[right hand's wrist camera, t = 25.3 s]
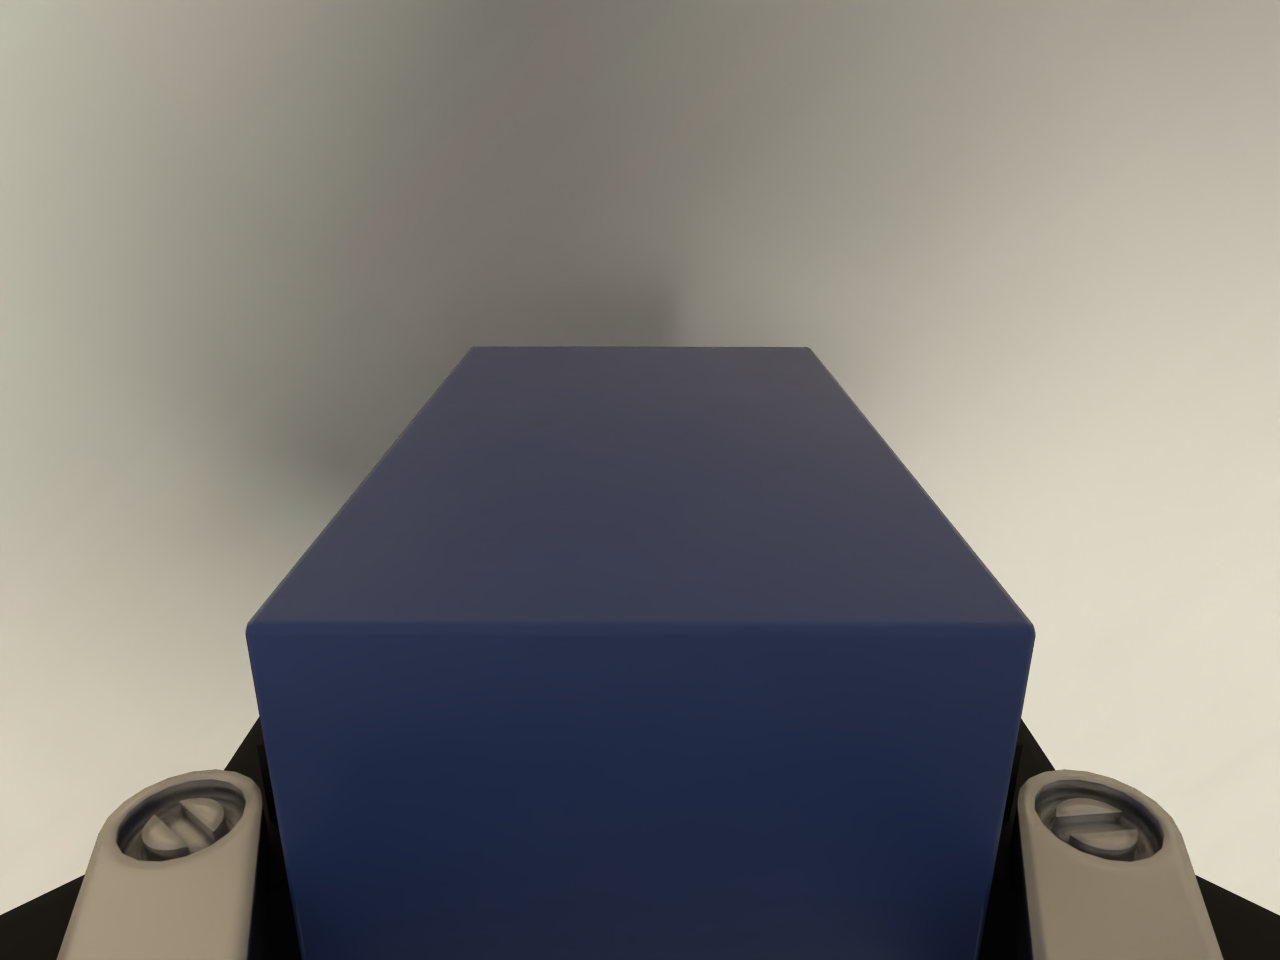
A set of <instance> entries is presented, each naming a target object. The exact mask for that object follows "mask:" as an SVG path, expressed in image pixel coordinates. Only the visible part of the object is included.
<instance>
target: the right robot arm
mask: <svg viewBox="0 0 1280 960" xmlns="http://www.w3.org/2000/svg"><path fill="white" fill-rule="evenodd" d="M0 960H301V954H300V948H299V942H298V936H297V931H296V925H295V919H294V913H293V907H292V901H291V896H290V890H289V884H288V878H287V872H286V867H285V861H284V855H283V849H282V843H281V837H280V832H279V826H278V820H277V814H276V808H275V803H274V797H273V791H272V785H271V779H270V774H269V768H268V762H267V756H266V750H265V744H264V739H263V733H262V727H261V721H260V716H259V718H258V719H257V721H256V723H255V724H254V726H253V727H252V729H251V730H250V732H249V733H248V735H247V736H246V738H245V739H244V741H243V742H242V744H241V745H240V747H239V748H238V750H237V751H236V753H235V754H234V756H233V757H232V759H231V760H230V762H229V763H228V765H227V767H226V768H225V770H205V771H194V772H189V773H186V774H182V775H178V776H174V777H171V778H167V779H165V780H163V781H161V782H158V783H156V784H154V785H152V786H149V787H147V788H145V789H143V790H142V791H140V792H139V793H137V794H136V795H134V796H132V797H131V798H129V799H128V800H126V801H125V802H123V803H122V804H121V805H120V806H119V807H118V808H117V809H116V810H115V811H114V812H113V813H112V814H111V815H110V816H109V817H108V818H107V820H106V822H105V824H104V826H103V827H102V829H101V831H100V833H99V834H98V837H97V840H96V843H95V846H94V849H93V852H92V855H91V858H90V861H89V864H88V867H87V870H86V873H85V875H83V876H81V877H79V878H77V879H75V880H73V881H71V882H68V883H66V884H64V885H62V886H60V887H58V888H56V889H54V890H52V891H50V892H48V893H46V894H44V895H42V896H39V897H37V898H35V899H33V900H31V901H29V902H27V903H25V904H23V905H21V906H19V907H17V908H15V909H12V910H10V911H8V912H6V913H4V914H2V915H0ZM978 960H1280V915H1277V914H1275V913H1273V912H1271V911H1269V910H1267V909H1265V908H1263V907H1261V906H1259V905H1257V904H1255V903H1253V902H1250V901H1248V900H1246V899H1244V898H1242V897H1240V896H1238V895H1236V894H1234V893H1232V892H1230V891H1228V890H1226V889H1223V888H1221V887H1219V886H1217V885H1215V884H1213V883H1211V882H1209V881H1207V880H1205V879H1203V878H1201V877H1199V876H1196V875H1195V873H1194V870H1193V867H1192V864H1191V861H1190V858H1189V855H1188V852H1187V849H1186V846H1185V843H1184V840H1183V837H1182V834H1181V833H1180V831H1179V829H1178V827H1177V826H1176V824H1175V822H1174V820H1173V818H1172V817H1171V816H1170V815H1169V814H1168V813H1167V812H1166V811H1165V810H1164V809H1163V808H1162V807H1161V806H1160V805H1159V804H1158V803H1157V802H1155V801H1154V800H1152V799H1151V798H1149V797H1148V796H1146V795H1144V794H1143V793H1141V792H1140V791H1138V790H1137V789H1135V788H1133V787H1131V786H1128V785H1126V784H1124V783H1122V782H1119V781H1117V780H1115V779H1113V778H1109V777H1106V776H1102V775H1098V774H1094V773H1091V772H1086V771H1075V770H1056V771H1055V769H1054V767H1053V766H1052V764H1051V763H1050V761H1049V760H1048V758H1047V757H1046V755H1045V754H1044V752H1043V751H1042V749H1041V748H1040V746H1039V745H1038V743H1037V742H1036V740H1035V739H1034V737H1033V736H1032V734H1031V733H1030V731H1029V730H1028V728H1027V726H1026V725H1025V723H1024V722H1023V720H1022V719H1021V720H1020V726H1019V731H1018V737H1017V743H1016V748H1015V754H1014V760H1013V765H1012V771H1011V777H1010V782H1009V788H1008V794H1007V799H1006V805H1005V811H1004V816H1003V822H1002V828H1001V833H1000V839H999V845H998V850H997V856H996V862H995V867H994V873H993V879H992V884H991V890H990V895H989V901H988V907H987V912H986V918H985V924H984V929H983V935H982V941H981V946H980V952H979V958H978Z"/></svg>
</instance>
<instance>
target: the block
mask: <svg viewBox="0 0 1280 960" xmlns="http://www.w3.org/2000/svg"><path fill="white" fill-rule="evenodd" d="M246 640H247V646H248V651H249V657H250V663H251V669H252V675H253V681H254V686H255V692H256V698H257V704H258V710H259V715H260V721H261V727H262V733H263V739H264V744H265V750H266V756H267V762H268V768H269V774H270V779H271V785H272V791H273V797H274V803H275V808H276V814H277V820H278V826H279V832H280V837H281V843H282V849H283V855H284V861H285V867H286V872H287V878H288V884H289V890H290V896H291V901H292V907H293V913H294V919H295V925H296V931H297V936H298V942H299V948H300V954H301V960H978V958H979V952H980V946H981V941H982V935H983V929H984V924H985V918H986V912H987V907H988V901H989V895H990V890H991V884H992V879H993V873H994V867H995V862H996V856H997V850H998V845H999V839H1000V833H1001V828H1002V822H1003V816H1004V811H1005V805H1006V799H1007V794H1008V788H1009V782H1010V777H1011V771H1012V765H1013V760H1014V754H1015V748H1016V743H1017V737H1018V731H1019V726H1020V720H1021V714H1022V709H1023V703H1024V698H1025V692H1026V686H1027V681H1028V675H1029V669H1030V664H1031V658H1032V652H1033V647H1034V641H1035V629H1034V626H1033V624H1032V623H1031V621H1030V620H1029V619H1028V618H1027V617H1026V615H1025V614H1024V613H1023V612H1022V610H1021V609H1020V608H1019V607H1018V605H1017V604H1016V603H1015V602H1014V600H1013V599H1012V598H1011V597H1010V595H1009V594H1008V593H1007V592H1006V590H1005V589H1004V588H1003V587H1002V586H1001V584H1000V583H999V582H998V581H997V579H996V578H995V577H994V576H993V574H992V573H991V572H990V571H989V569H988V568H987V567H986V566H985V564H984V563H983V562H982V561H981V560H980V558H979V557H978V556H977V555H976V553H975V552H974V551H973V550H972V548H971V547H970V546H969V545H968V543H967V542H966V541H965V540H964V538H963V537H962V536H961V535H960V533H959V532H958V531H957V530H956V529H955V527H954V526H953V525H952V524H951V522H950V521H949V520H948V519H947V517H946V516H945V515H944V514H943V512H942V511H941V510H940V509H939V507H938V506H937V505H936V504H935V503H934V501H933V500H932V499H931V498H930V496H929V495H928V494H927V493H926V491H925V490H924V489H923V488H922V486H921V485H920V484H919V483H918V481H917V480H916V479H915V478H914V476H913V475H912V474H911V473H910V472H909V470H908V469H907V468H906V467H905V465H904V464H903V463H902V462H901V460H900V459H899V458H898V457H897V455H896V454H895V453H894V452H893V450H892V449H891V448H890V447H889V446H888V444H887V443H886V442H885V441H884V439H883V438H882V437H881V436H880V434H879V433H878V432H877V431H876V429H875V428H874V427H873V426H872V424H871V423H870V422H869V421H868V419H867V418H866V417H865V416H864V415H863V413H862V412H861V411H860V410H859V408H858V407H857V406H856V405H855V403H854V402H853V401H852V400H851V398H850V397H849V396H848V395H847V393H846V392H845V391H844V390H843V389H842V387H841V386H840V385H839V384H838V382H837V381H836V380H835V379H834V377H833V376H832V375H831V374H830V372H829V371H828V370H827V369H826V367H825V366H824V365H823V364H822V362H821V361H820V360H819V359H818V358H817V356H816V355H815V354H814V353H813V351H812V350H811V349H810V348H807V347H473V348H471V349H470V350H469V351H468V353H467V354H466V355H465V356H464V357H463V359H462V360H461V361H460V362H459V364H458V365H457V366H456V367H455V369H454V370H453V371H452V372H451V373H450V375H449V376H448V377H447V378H446V380H445V381H444V382H443V383H442V385H441V386H440V387H439V388H438V389H437V391H436V392H435V393H434V394H433V396H432V397H431V398H430V399H429V401H428V402H427V403H426V404H425V405H424V407H423V408H422V409H421V410H420V412H419V413H418V414H417V415H416V417H415V418H414V419H413V420H412V422H411V423H410V424H409V425H408V426H407V428H406V429H405V430H404V431H403V433H402V434H401V435H400V436H399V438H398V439H397V440H396V441H395V442H394V444H393V445H392V446H391V447H390V449H389V450H388V451H387V452H386V454H385V455H384V456H383V457H382V458H381V460H380V461H379V462H378V463H377V465H376V466H375V467H374V468H373V470H372V471H371V472H370V473H369V474H368V476H367V477H366V478H365V479H364V481H363V482H362V483H361V484H360V486H359V487H358V488H357V489H356V490H355V492H354V493H353V494H352V495H351V497H350V498H349V499H348V500H347V502H346V503H345V504H344V505H343V506H342V508H341V509H340V510H339V511H338V513H337V514H336V515H335V516H334V518H333V519H332V520H331V521H330V522H329V524H328V525H327V526H326V527H325V529H324V530H323V531H322V532H321V534H320V535H319V536H318V537H317V538H316V540H315V541H314V542H313V543H312V545H311V546H310V547H309V548H308V550H307V551H306V552H305V553H304V554H303V556H302V557H301V558H300V559H299V561H298V562H297V563H296V564H295V566H294V567H293V568H292V569H291V570H290V572H289V573H288V574H287V575H286V577H285V578H284V579H283V580H282V582H281V583H280V584H279V585H278V586H277V588H276V589H275V590H274V591H273V593H272V594H271V595H270V596H269V598H268V599H267V600H266V601H265V602H264V604H263V605H262V606H261V607H260V609H259V610H258V611H257V612H256V614H255V615H254V616H253V617H252V619H251V620H250V621H249V622H248V624H247V627H246Z"/></svg>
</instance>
